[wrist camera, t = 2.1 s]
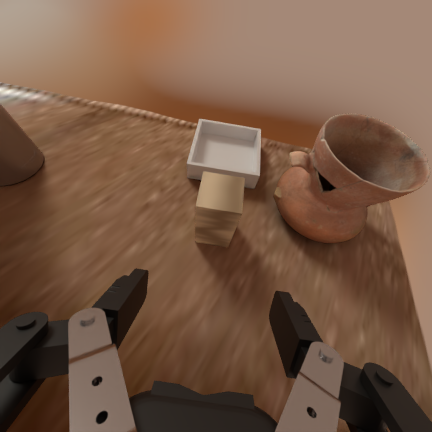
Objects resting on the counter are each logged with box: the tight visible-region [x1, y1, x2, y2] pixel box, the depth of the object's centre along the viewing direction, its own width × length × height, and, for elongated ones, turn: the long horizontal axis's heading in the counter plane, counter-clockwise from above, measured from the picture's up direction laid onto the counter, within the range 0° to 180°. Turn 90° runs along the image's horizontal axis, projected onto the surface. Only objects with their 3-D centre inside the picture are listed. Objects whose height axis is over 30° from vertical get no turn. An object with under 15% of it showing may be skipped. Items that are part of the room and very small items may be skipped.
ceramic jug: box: [274, 113, 430, 243], centre depth 29 cm, size 18×14×14 cm
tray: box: [187, 119, 261, 189], centre depth 37 cm, size 12×12×4 cm
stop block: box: [195, 171, 245, 247], centre depth 27 cm, size 5×5×10 cm
